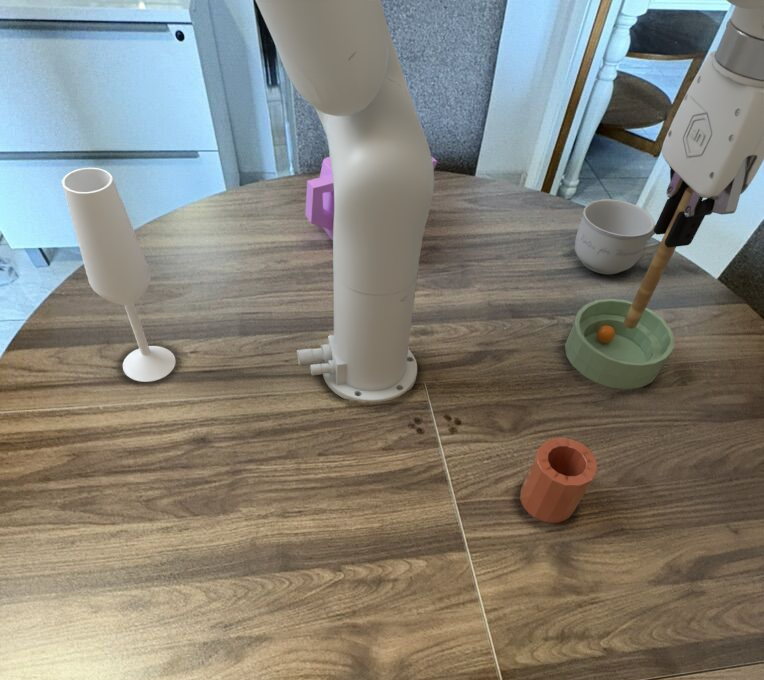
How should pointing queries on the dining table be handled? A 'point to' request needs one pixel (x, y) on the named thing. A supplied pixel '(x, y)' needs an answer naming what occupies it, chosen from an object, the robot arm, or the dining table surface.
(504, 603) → the dining table surface
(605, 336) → the bead
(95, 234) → the champagne flute
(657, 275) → the stick
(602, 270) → the teacup
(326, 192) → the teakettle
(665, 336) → the bowl
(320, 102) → the robot arm
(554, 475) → the holder
